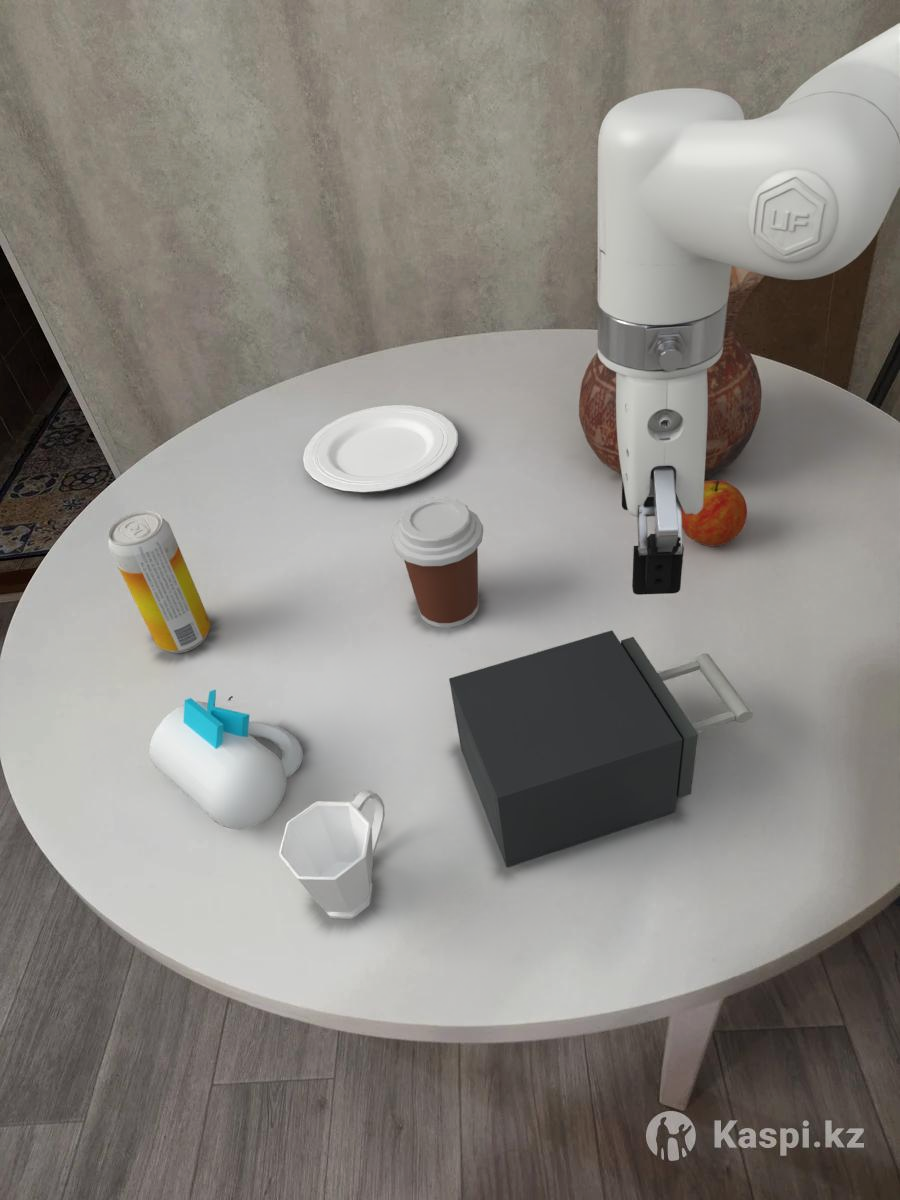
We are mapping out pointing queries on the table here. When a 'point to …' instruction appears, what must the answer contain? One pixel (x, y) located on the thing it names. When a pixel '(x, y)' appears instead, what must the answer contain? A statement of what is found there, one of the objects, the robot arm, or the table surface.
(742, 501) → the fruit
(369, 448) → the plate
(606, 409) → the jug
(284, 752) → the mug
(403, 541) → the coffee cup
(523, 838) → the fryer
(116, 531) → the beer can
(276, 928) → the table surface
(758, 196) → the robot arm
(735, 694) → the grey drawer
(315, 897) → the cup
